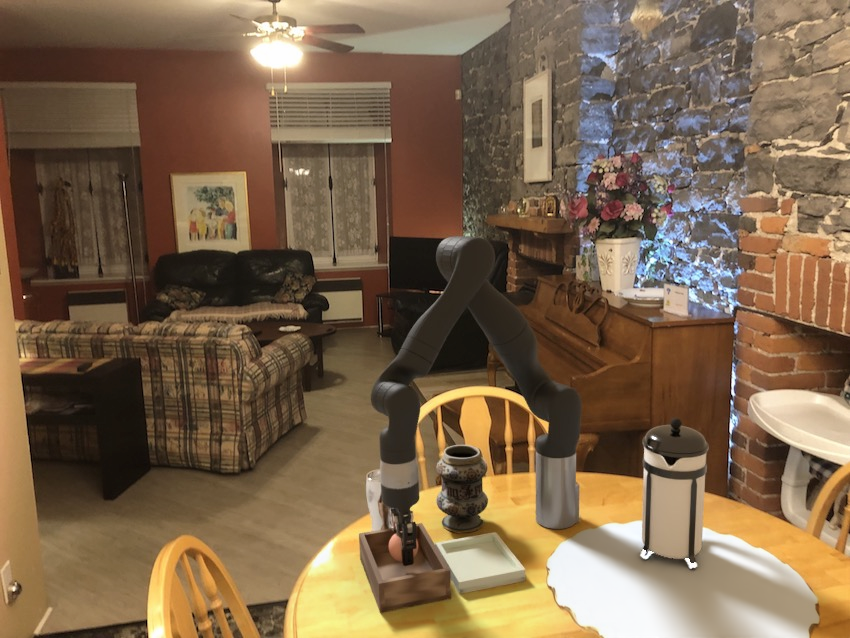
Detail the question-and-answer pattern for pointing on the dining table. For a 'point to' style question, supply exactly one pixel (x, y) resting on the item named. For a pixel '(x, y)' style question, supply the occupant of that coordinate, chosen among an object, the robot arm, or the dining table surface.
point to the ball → (398, 547)
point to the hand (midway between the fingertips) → (403, 555)
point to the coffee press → (673, 490)
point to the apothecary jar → (462, 488)
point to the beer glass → (376, 502)
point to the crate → (404, 571)
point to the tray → (480, 562)
